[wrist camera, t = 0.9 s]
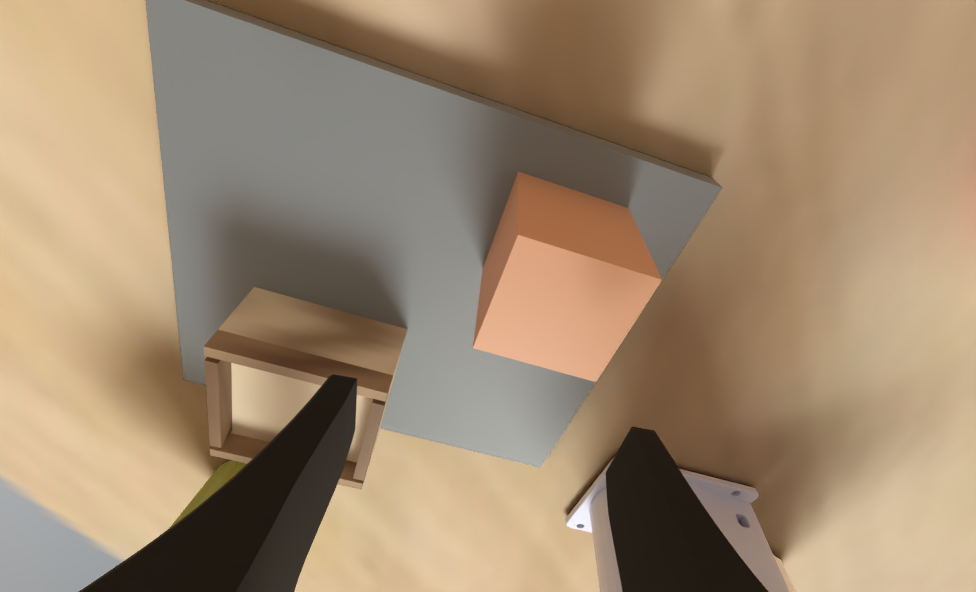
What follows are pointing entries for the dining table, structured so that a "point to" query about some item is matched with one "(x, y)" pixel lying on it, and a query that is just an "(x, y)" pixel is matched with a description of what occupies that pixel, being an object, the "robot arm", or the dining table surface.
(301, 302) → the birch socket block
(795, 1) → the dining table surface
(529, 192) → the terracotta block
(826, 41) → the dining table surface
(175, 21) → the grey board
